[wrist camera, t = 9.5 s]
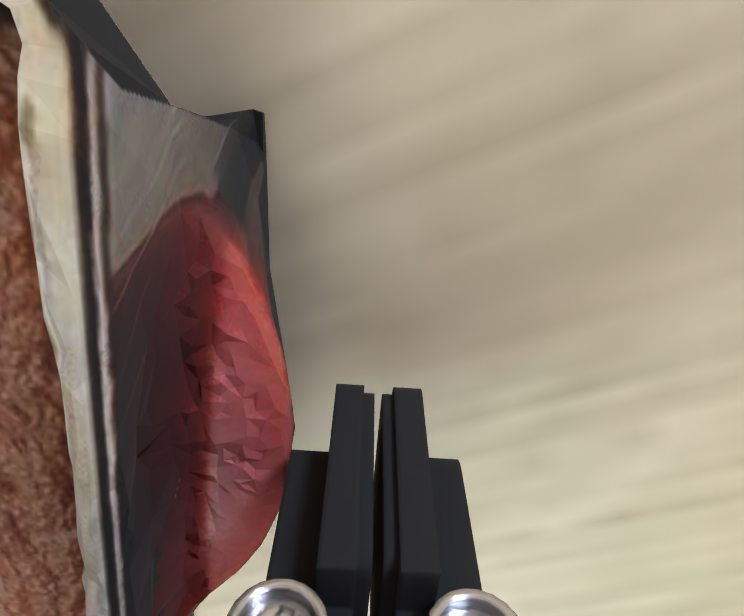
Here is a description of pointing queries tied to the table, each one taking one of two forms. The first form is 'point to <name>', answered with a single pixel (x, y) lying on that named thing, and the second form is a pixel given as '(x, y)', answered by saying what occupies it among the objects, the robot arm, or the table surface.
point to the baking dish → (129, 330)
